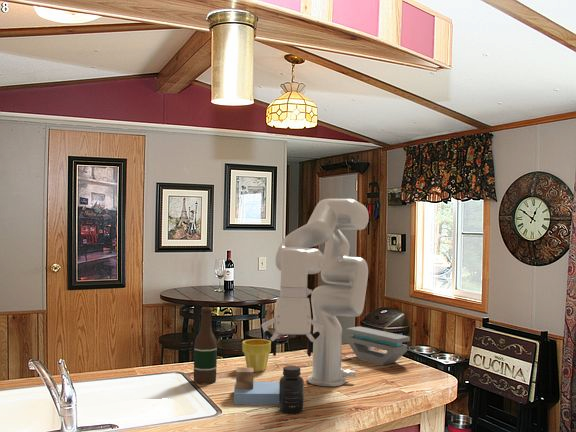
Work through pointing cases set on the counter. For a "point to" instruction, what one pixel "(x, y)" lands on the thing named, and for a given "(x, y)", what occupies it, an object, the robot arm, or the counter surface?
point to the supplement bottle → (291, 391)
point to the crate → (244, 378)
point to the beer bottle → (205, 351)
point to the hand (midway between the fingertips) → (291, 355)
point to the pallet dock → (258, 394)
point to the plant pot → (256, 353)
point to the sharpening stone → (376, 345)
